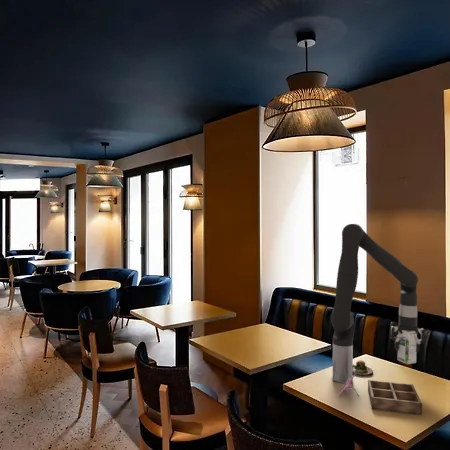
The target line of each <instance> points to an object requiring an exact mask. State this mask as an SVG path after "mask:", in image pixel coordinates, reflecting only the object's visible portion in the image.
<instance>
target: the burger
mask: <svg viewBox="0 0 450 450" xmlns="http://www.w3.org/2000/svg"><path fill="white" fill-rule="evenodd" d="M353 374H354V375H361V376H368V375H371V376H373V375H374V370H373V369H372V368H370V367H368V366H367V365H366V361H364V360H362V359H359V360H357V361H356V364H354V363H353Z"/></svg>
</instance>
